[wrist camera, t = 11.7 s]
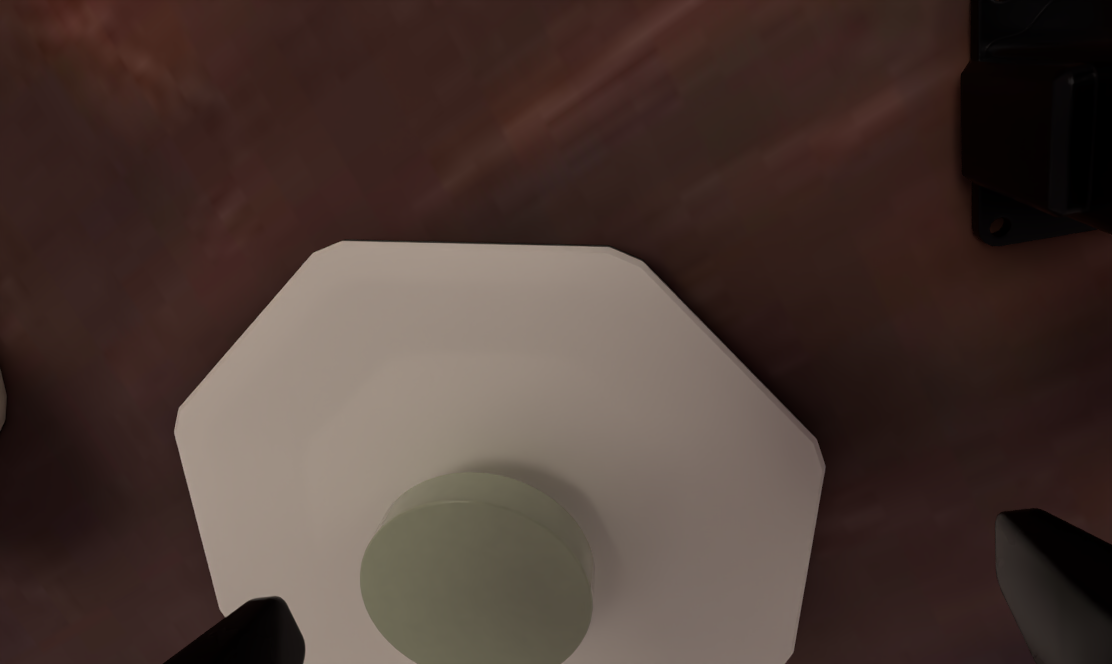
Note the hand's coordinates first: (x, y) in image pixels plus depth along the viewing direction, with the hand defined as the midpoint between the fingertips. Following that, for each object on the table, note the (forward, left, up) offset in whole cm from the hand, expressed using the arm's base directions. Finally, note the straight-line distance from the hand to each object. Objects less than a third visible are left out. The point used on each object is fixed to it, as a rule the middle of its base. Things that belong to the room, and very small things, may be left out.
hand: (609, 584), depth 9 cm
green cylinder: (+6, +7, -10) cm, 14 cm away
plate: (+6, +7, -12) cm, 15 cm away
